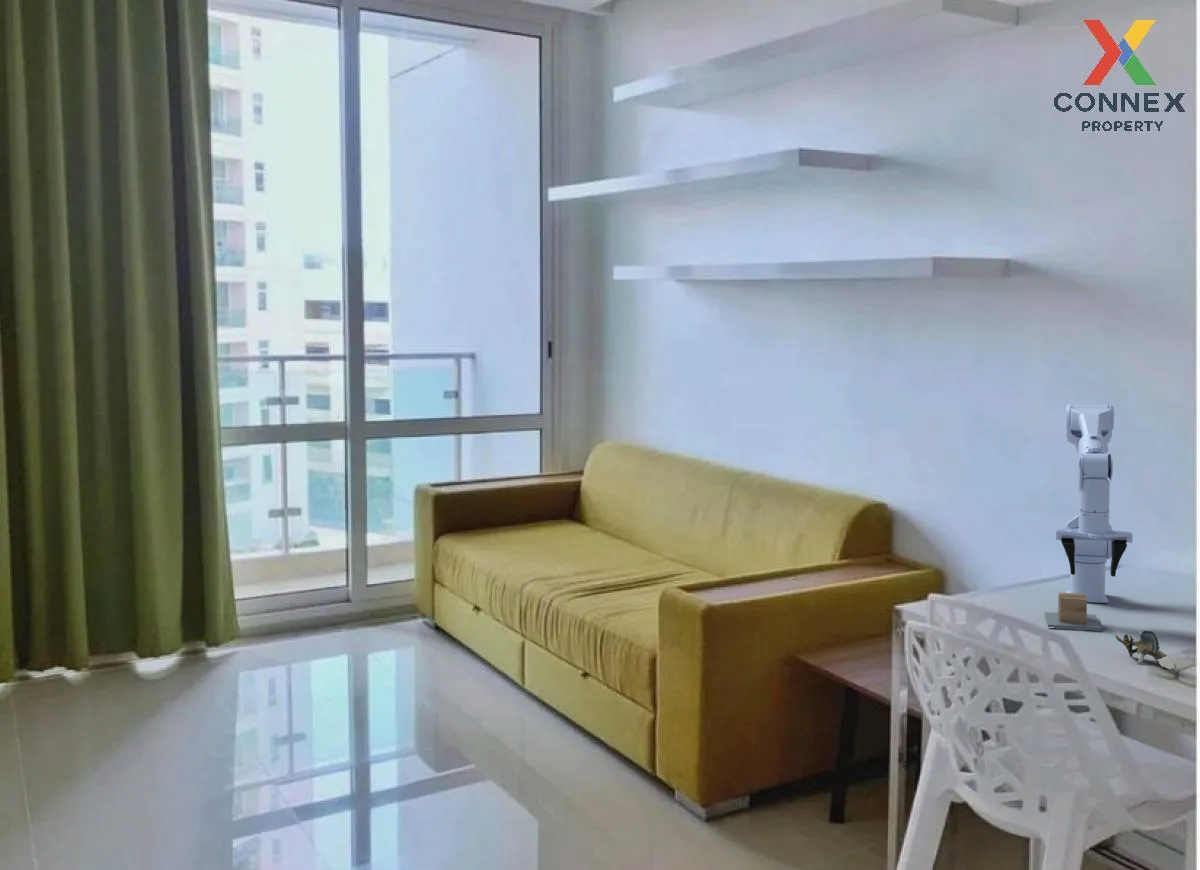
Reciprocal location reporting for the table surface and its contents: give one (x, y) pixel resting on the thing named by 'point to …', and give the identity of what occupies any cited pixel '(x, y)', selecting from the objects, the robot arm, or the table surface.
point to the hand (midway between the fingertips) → (1092, 574)
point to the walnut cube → (1072, 607)
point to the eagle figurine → (1143, 645)
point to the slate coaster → (1054, 622)
